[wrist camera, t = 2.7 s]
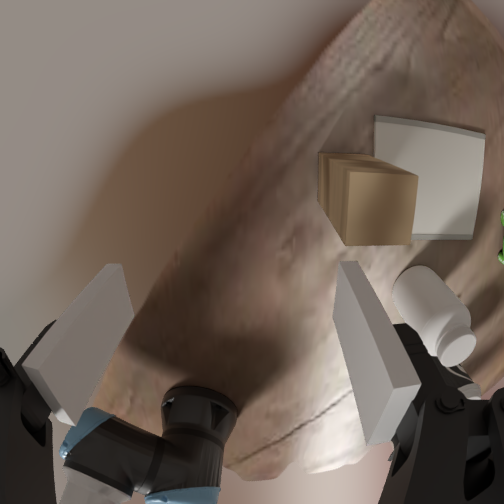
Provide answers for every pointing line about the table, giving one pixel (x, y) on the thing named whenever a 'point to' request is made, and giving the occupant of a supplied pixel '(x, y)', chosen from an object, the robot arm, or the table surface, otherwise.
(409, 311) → the pill bottle
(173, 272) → the table surface
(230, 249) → the table surface
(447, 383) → the coffee cup
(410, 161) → the shallow grey tray
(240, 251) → the table surface
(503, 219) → the turtle holder
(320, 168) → the oak block
